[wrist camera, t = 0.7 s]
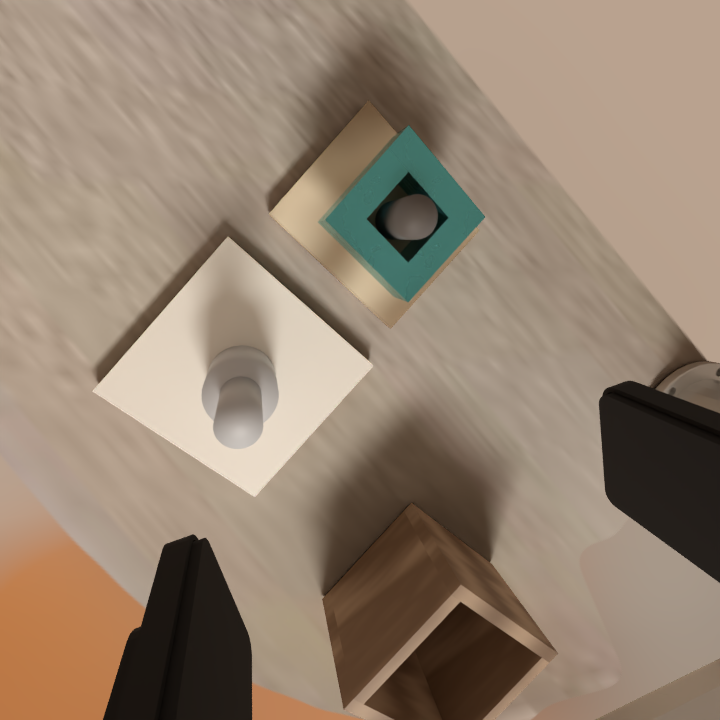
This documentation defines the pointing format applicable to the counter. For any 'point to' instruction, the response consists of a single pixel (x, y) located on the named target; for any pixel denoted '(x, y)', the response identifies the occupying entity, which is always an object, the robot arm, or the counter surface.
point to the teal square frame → (415, 176)
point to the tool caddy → (429, 629)
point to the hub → (235, 370)
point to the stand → (391, 218)
